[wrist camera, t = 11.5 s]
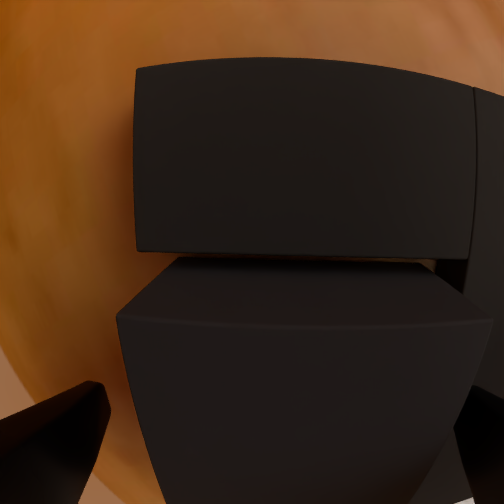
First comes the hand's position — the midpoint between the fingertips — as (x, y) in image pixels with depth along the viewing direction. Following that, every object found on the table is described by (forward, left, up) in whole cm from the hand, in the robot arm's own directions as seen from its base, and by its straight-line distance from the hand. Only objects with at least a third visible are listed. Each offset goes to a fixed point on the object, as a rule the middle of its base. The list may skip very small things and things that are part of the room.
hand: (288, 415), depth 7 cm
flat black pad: (+7, 0, -2) cm, 7 cm away
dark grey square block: (0, 0, -2) cm, 2 cm away
